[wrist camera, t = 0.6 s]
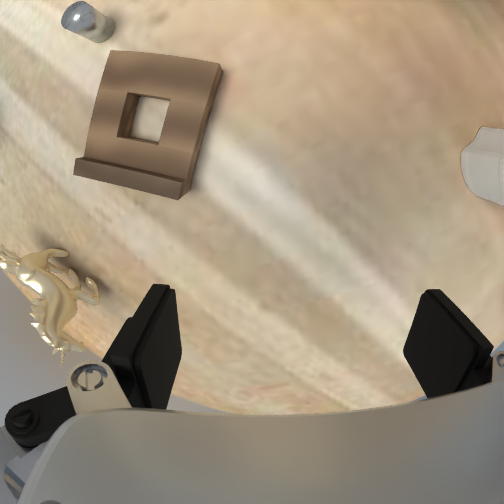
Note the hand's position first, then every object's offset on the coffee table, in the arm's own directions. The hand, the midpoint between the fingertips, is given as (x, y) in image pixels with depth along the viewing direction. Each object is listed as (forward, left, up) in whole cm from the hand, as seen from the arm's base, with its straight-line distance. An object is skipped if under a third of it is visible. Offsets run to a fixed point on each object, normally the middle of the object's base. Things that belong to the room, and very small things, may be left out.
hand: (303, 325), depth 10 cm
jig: (-5, -17, -29) cm, 34 cm away
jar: (-16, +31, -29) cm, 46 cm away
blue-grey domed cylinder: (-17, -29, -29) cm, 44 cm away
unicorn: (+19, -27, -29) cm, 44 cm away
